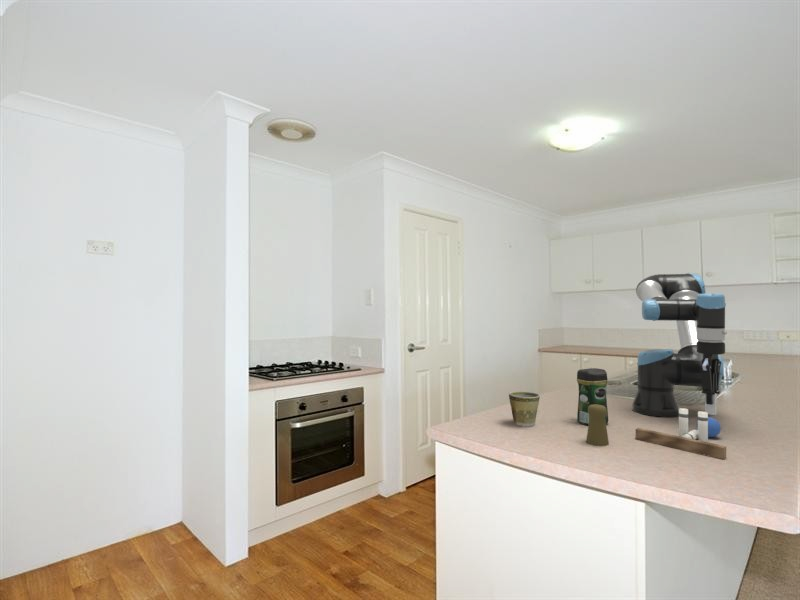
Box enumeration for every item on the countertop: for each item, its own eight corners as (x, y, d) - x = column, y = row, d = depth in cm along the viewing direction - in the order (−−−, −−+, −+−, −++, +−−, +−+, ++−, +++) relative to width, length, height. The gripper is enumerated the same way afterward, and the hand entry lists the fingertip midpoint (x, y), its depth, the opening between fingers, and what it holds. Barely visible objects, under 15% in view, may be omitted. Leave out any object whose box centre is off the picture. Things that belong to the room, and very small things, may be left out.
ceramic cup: (533, 430, 140) (533, 398, 140) (504, 424, 146) (504, 395, 146) (546, 421, 150) (546, 392, 151) (519, 416, 157) (519, 388, 157)
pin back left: (678, 437, 132) (677, 409, 132) (679, 435, 134) (679, 407, 134) (687, 439, 131) (687, 410, 131) (689, 437, 132) (689, 408, 133)
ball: (705, 409, 134) (702, 419, 138) (694, 422, 132) (691, 431, 136) (727, 421, 130) (722, 431, 134) (715, 435, 128) (711, 444, 132)
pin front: (691, 437, 133) (682, 443, 127) (689, 429, 133) (680, 434, 128) (701, 437, 131) (691, 443, 125) (699, 429, 131) (689, 434, 126)
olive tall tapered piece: (611, 446, 124) (611, 407, 124) (588, 445, 125) (588, 406, 125) (605, 440, 130) (605, 403, 130) (584, 438, 131) (584, 402, 131)
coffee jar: (594, 418, 154) (594, 366, 154) (612, 424, 146) (612, 369, 147) (572, 421, 150) (572, 367, 151) (590, 427, 143) (589, 370, 143)
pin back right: (697, 441, 128) (697, 412, 128) (698, 439, 130) (698, 410, 130) (707, 443, 127) (707, 413, 127) (708, 441, 129) (708, 412, 129)
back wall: (635, 438, 131) (635, 428, 131) (638, 437, 132) (638, 427, 132) (723, 459, 114) (723, 447, 114) (726, 457, 115) (726, 446, 115)
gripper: (718, 343, 134) (718, 420, 134) (730, 340, 142) (730, 412, 142) (690, 341, 140) (690, 414, 140) (703, 338, 148) (703, 408, 148)
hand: (710, 413), depth 141 cm, fingers closed
